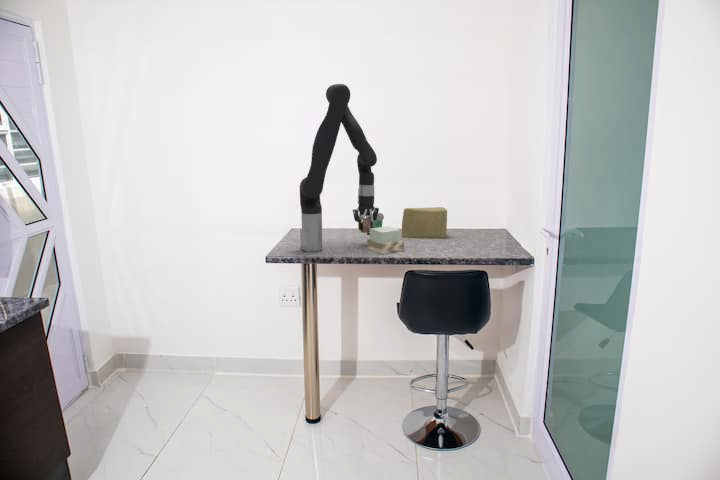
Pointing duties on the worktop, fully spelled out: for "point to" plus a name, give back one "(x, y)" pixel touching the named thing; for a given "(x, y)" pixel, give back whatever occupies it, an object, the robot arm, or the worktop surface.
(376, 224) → the food container
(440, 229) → the cheese
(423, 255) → the worktop surface
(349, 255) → the worktop surface
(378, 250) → the bottom block
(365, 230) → the round block
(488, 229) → the worktop surface
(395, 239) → the top block
